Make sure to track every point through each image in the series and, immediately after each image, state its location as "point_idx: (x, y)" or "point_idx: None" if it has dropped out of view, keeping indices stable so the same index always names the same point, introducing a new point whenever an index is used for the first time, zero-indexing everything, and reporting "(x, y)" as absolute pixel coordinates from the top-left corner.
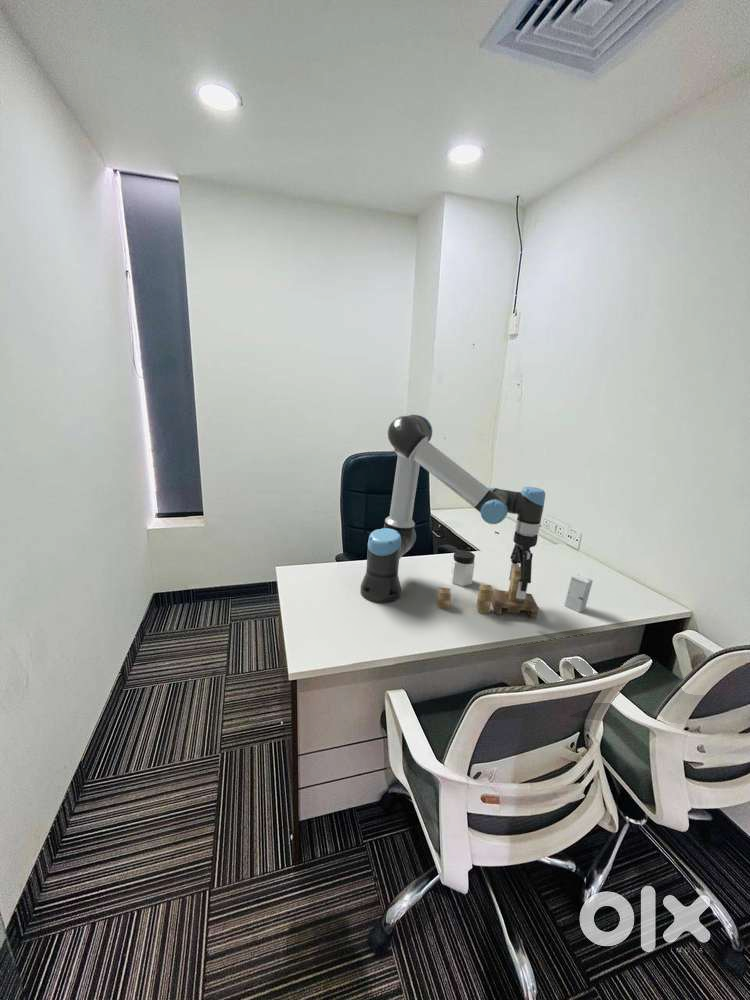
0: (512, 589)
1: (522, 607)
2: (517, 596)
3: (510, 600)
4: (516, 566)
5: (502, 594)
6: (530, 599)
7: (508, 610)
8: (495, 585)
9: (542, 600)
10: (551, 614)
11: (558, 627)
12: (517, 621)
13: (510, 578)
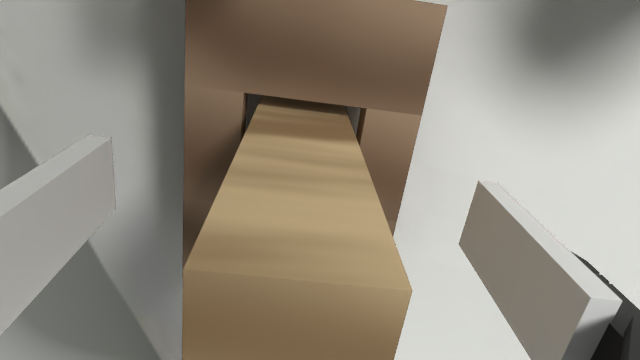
0: (242, 144)
1: (185, 175)
2: (75, 144)
3: (256, 111)
4: (391, 340)
5: (355, 74)
6: None
7: None
8: (631, 113)
9: (419, 329)
10: None
11: (146, 311)
12: (153, 112)
13: (482, 200)
